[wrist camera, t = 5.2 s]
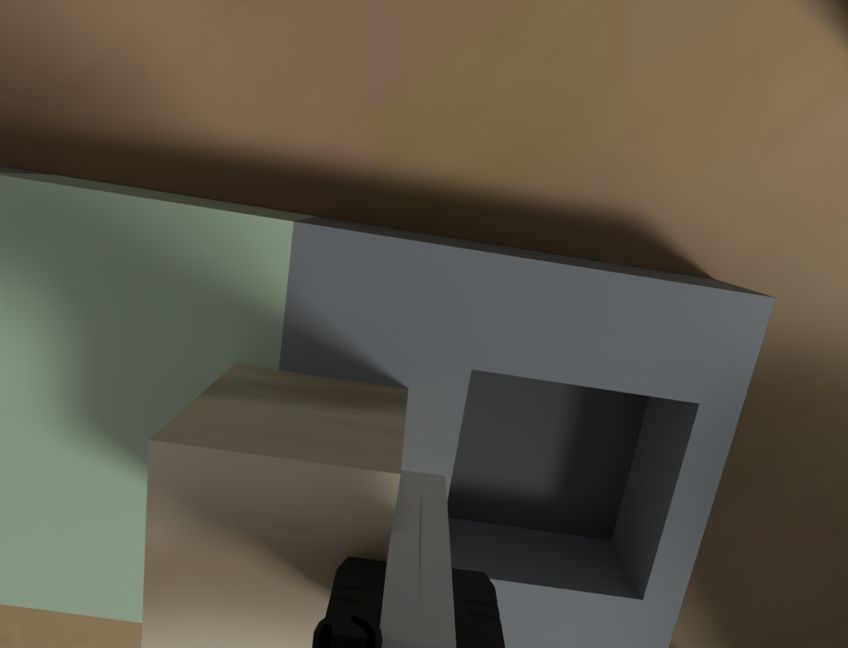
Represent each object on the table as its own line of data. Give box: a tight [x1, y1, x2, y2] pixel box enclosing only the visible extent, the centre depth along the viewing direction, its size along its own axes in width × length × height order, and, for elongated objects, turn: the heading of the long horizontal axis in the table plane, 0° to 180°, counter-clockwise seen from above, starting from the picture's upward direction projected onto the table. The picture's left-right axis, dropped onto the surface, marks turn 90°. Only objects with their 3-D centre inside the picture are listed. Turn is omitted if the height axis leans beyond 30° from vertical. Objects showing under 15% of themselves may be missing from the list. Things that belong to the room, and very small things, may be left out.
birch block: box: [141, 364, 408, 648], centre depth 17 cm, size 6×6×6 cm
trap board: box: [0, 166, 776, 648], centre depth 22 cm, size 16×37×4 cm, turn 81°
